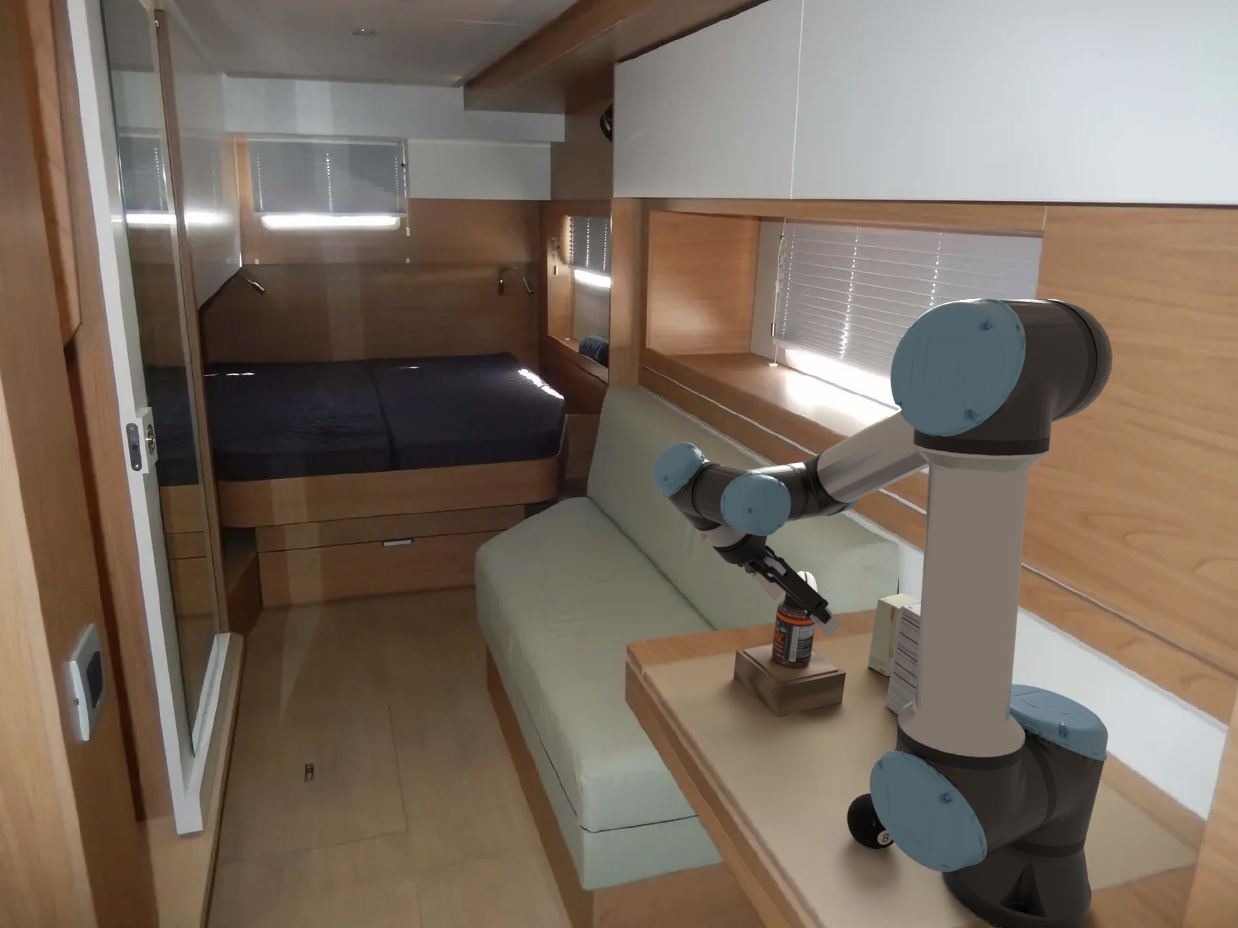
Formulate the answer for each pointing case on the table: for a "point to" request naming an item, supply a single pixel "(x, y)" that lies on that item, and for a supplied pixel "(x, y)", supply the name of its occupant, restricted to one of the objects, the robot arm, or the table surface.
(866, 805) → the billiard ball
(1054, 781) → the robot arm
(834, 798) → the table surface
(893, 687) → the supplement box
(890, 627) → the skincare box
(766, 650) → the wooden box
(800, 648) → the supplement bottle
